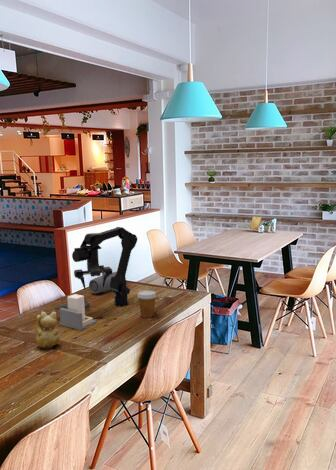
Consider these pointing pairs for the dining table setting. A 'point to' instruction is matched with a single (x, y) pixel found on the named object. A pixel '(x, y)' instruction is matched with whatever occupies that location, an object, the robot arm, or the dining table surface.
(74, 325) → the board
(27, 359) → the dining table surface
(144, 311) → the disposable coffee cup
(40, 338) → the decorative figurine
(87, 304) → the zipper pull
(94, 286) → the bluetooth speaker
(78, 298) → the white cabinet
